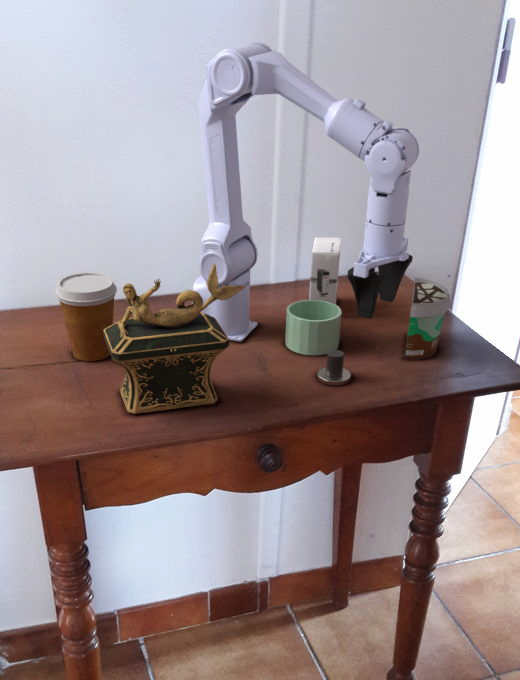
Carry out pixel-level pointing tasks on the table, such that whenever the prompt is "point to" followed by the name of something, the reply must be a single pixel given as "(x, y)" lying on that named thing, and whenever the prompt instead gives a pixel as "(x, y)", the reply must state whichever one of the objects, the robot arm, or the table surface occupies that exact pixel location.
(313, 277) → the ink box
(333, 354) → the lid
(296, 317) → the cup
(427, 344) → the food container
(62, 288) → the disposable coffee cup
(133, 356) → the decorative box
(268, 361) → the table surface
